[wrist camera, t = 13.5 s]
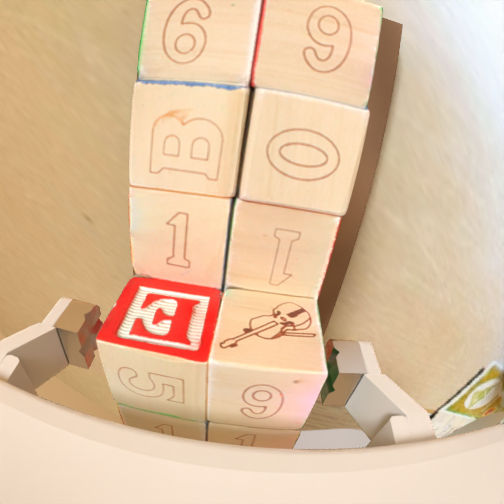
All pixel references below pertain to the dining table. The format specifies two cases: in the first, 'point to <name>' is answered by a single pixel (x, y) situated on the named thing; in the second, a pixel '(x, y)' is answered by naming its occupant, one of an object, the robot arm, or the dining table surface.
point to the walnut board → (362, 166)
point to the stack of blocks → (236, 212)
